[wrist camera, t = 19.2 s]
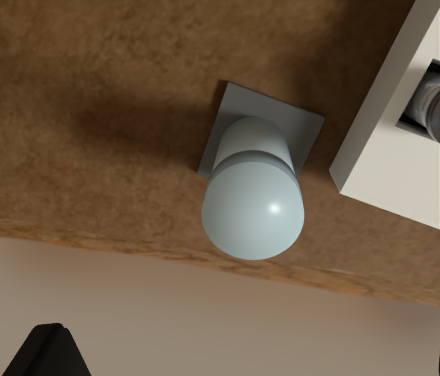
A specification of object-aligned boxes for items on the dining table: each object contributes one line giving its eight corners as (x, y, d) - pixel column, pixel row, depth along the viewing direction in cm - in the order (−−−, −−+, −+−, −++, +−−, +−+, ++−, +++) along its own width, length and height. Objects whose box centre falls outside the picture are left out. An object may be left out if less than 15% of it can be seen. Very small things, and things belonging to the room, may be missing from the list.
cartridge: (212, 122, 26) (189, 177, 17) (282, 110, 26) (298, 160, 16) (225, 186, 28) (212, 266, 19) (291, 176, 27) (310, 254, 18)
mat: (197, 170, 29) (196, 173, 28) (228, 81, 26) (228, 82, 25) (284, 201, 29) (284, 205, 28) (324, 116, 26) (325, 118, 26)
